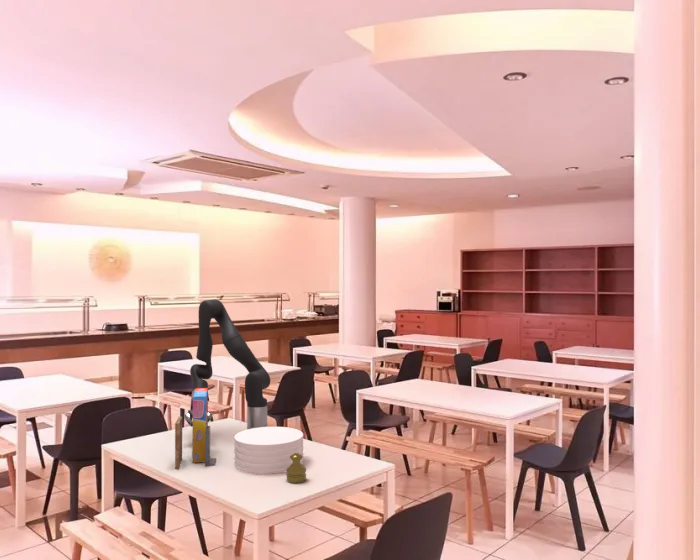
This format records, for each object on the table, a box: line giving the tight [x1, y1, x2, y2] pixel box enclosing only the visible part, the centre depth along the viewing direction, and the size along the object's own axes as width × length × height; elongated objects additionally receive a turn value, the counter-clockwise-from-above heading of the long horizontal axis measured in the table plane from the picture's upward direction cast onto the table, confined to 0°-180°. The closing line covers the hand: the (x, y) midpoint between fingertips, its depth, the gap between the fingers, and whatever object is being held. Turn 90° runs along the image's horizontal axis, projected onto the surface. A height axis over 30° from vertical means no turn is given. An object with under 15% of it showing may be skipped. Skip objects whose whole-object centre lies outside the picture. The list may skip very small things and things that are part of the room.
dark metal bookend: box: [204, 425, 217, 467], centre depth 229 cm, size 4×8×14 cm, turn 11°
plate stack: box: [233, 426, 304, 475], centre depth 229 cm, size 28×28×12 cm
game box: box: [191, 387, 209, 464], centre depth 239 cm, size 21×6×27 cm, turn 12°
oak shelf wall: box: [174, 416, 183, 470], centre depth 227 cm, size 2×12×18 cm, turn 11°
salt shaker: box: [285, 453, 307, 484], centre depth 208 cm, size 7×7×10 cm
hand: (197, 433), depth 249 cm, fingers closed
